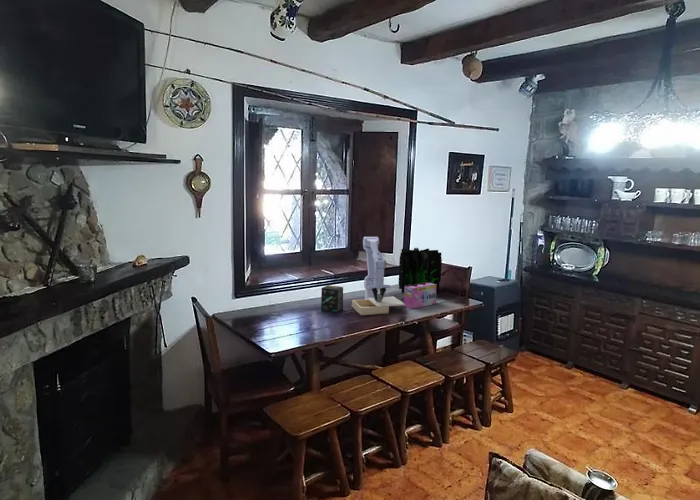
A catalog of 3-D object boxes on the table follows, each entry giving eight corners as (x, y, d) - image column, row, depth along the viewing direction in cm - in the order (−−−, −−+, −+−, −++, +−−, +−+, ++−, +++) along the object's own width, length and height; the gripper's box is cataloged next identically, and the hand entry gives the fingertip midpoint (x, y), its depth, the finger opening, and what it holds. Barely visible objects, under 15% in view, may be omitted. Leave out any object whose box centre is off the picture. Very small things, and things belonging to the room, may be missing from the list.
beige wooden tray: (351, 307, 299) (352, 300, 298) (378, 305, 304) (378, 298, 303) (361, 315, 282) (361, 308, 281) (388, 313, 287) (388, 306, 287)
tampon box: (343, 309, 293) (343, 286, 291) (336, 313, 285) (337, 289, 283) (327, 306, 298) (328, 284, 296) (320, 310, 290) (321, 287, 287)
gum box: (428, 300, 319) (429, 281, 317) (437, 303, 312) (438, 283, 310) (403, 306, 305) (404, 285, 302) (411, 309, 298) (412, 288, 296)
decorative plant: (446, 291, 347) (448, 251, 342) (423, 298, 325) (425, 255, 321) (414, 284, 366) (416, 246, 361) (390, 290, 345) (392, 250, 340)
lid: (367, 299, 301) (367, 291, 300) (393, 297, 307) (393, 290, 306) (377, 306, 284) (377, 299, 283) (404, 305, 290) (404, 297, 289)
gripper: (370, 280, 285) (369, 302, 288) (392, 279, 290) (391, 300, 292) (366, 278, 292) (365, 299, 294) (388, 277, 296) (387, 297, 299)
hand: (378, 299), depth 294 cm, fingers closed on lid, 3 cm apart
